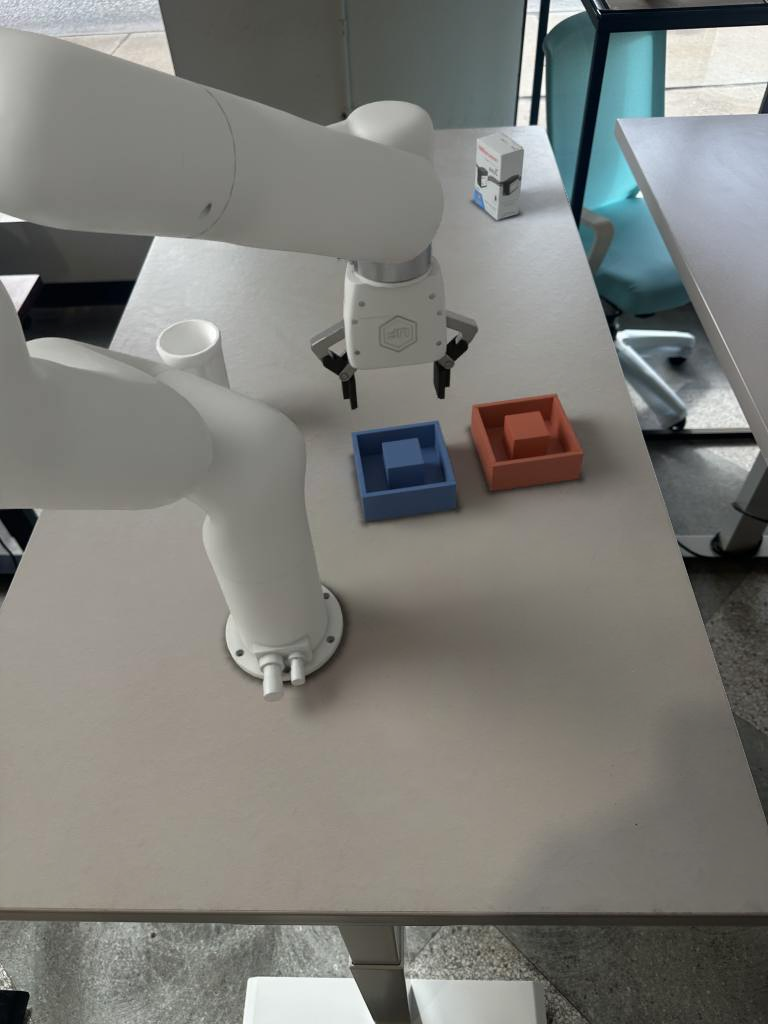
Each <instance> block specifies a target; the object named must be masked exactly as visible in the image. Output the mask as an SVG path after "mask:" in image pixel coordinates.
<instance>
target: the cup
mask: <svg viewBox="0 0 768 1024" xmlns="http://www.w3.org/2000/svg"><path fill="white" fill-rule="evenodd" d="M155 344H156V345H155V349H156V351H157V352H158V354H159V356H160V358H161V359H162V360H163V363H164V364H166V365H169V366H172V367H175V368H177V369H180V370H183V371H185V372H188V373H190V374H193V375H195V376H198V377H200V378H203V379H205V380H207V381H210V382H212V383H215V384H217V385H221V386H224V387H227V388H229V389H231V385H230V380H229V376H228V370H227V365H226V361H225V356H224V352H223V348H222V333H221V330H220V328H218V327H217V325H216V324H215V323H214V322H211V321H209V320H206V319H198V318H193V319H185V320H181V321H178V322H175V323H173V324H170V325H168V326H167V327H165V329H163V330H162V331H161V332H160V333H159V335H158V337H157V338H156V343H155Z"/></svg>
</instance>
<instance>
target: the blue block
mask: <svg viewBox="0 0 768 1024" xmlns="http://www.w3.org/2000/svg"><path fill="white" fill-rule="evenodd" d="M382 449H383V462H384V471H385V476H386V481H387V486H388V490H394V489H401V488H408V487H415V486H422V485H425V476H424V460H423V456H422V452H421V448H420V444H419V440H418V438H413V439H406V440H399V441H392V442H385V443H382Z"/></svg>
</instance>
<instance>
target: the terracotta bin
mask: <svg viewBox="0 0 768 1024" xmlns="http://www.w3.org/2000/svg"><path fill="white" fill-rule="evenodd" d="M537 411H540V413H541V416H542V418H543V420H544V423H545V425H546V427H547V430H548V432H549V434H550V437H549V443H548V449H547V455H545V456H538V457H531V458H524V459H517V460H510V461H509V458H508V455H507V452H506V449H505V447H504V444H503V432H504V422H505V416H508V415H515V414H522V413H529V412H537ZM470 432H471V435H472V438H473V442H474V444H475V447H476V451H477V453H478V457H479V460H480V463H481V466H482V469H483V472H484V475H485V478H486V482H487V486H488V487H489V491H490V492H495V491H502V490H503V491H504V490H509V489H516V488H524V487H531V486H537V485H544V484H551V483H559V482H565V481H572V480H573V481H574V480H579V478H580V472H581V468H582V464H583V459H584V454H585V453H584V451H583V449H582V446H581V444H580V442H579V440H578V438H577V436H576V435H577V434H575V431H574V429H573V427H572V425H571V422H570V420H569V418H568V416H567V413H566V411H565V409H564V407H563V405H562V403H561V400H560V398H559V396H558V394H557V393H551V394H543V395H535V396H528V397H520V398H514V399H507V400H497V401H492V402H484V403H475V404H472V405H471V421H470Z"/></svg>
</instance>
